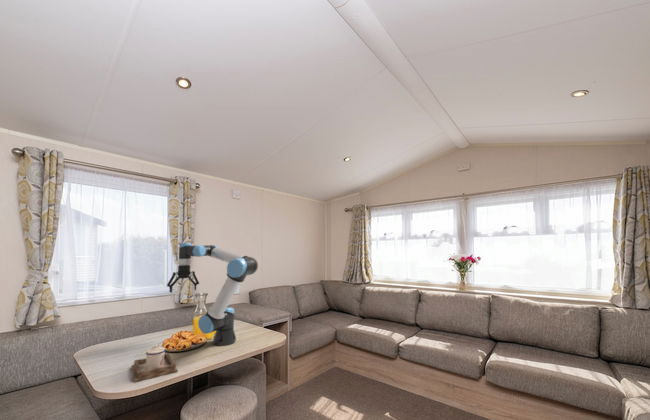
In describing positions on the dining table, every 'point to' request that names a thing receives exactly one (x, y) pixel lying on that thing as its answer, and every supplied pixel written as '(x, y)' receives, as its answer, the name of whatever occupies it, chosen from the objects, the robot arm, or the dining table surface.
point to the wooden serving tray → (143, 374)
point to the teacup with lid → (155, 357)
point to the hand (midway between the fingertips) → (182, 295)
